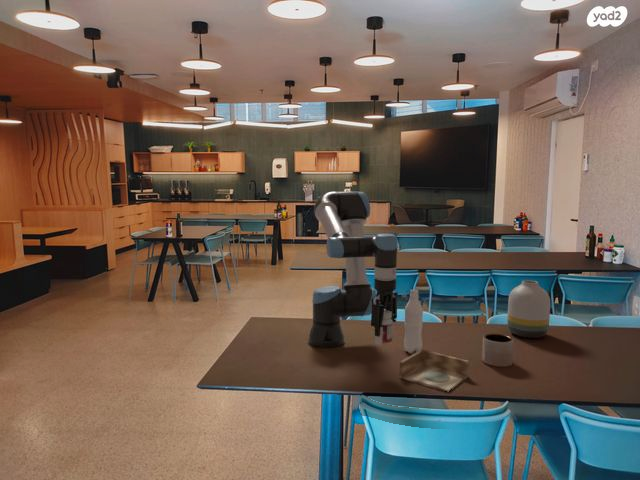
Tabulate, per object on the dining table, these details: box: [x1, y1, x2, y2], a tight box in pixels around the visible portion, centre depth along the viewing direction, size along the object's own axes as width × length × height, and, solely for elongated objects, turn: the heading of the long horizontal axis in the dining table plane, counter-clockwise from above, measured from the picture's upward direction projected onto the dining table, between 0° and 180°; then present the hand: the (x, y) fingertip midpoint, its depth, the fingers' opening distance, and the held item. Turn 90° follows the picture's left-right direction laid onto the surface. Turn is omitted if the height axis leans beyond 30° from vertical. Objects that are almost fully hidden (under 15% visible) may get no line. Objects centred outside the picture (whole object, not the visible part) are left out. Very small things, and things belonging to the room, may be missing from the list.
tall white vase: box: [403, 289, 424, 354], centre depth 188 cm, size 7×7×25 cm
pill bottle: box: [381, 310, 394, 346], centre depth 168 cm, size 6×6×11 cm
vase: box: [507, 279, 551, 339], centre depth 209 cm, size 17×17×24 cm
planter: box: [481, 332, 515, 368], centre depth 177 cm, size 11×11×10 cm
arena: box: [399, 348, 470, 393], centre depth 164 cm, size 18×16×6 cm
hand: (383, 341), depth 168 cm, fingers closed on pill bottle, 6 cm apart
